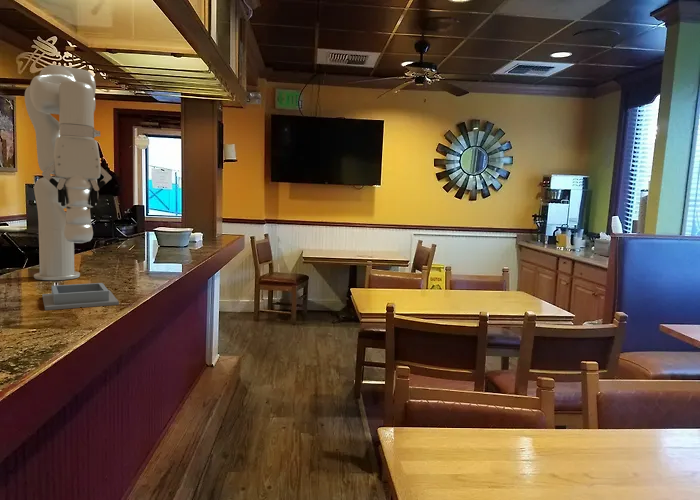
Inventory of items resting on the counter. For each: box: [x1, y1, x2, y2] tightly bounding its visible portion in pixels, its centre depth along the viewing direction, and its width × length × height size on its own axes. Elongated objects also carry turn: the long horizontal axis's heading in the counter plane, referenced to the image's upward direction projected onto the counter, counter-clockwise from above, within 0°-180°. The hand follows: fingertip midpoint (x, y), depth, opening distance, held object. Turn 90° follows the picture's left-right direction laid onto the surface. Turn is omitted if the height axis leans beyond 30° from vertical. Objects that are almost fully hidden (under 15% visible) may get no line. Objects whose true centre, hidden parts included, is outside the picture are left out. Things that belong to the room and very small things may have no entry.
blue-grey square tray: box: [42, 282, 120, 311], centre depth 130 cm, size 16×16×3 cm
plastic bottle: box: [64, 175, 94, 244], centre depth 127 cm, size 6×7×20 cm
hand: (78, 205), depth 127 cm, fingers closed on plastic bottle, 6 cm apart
